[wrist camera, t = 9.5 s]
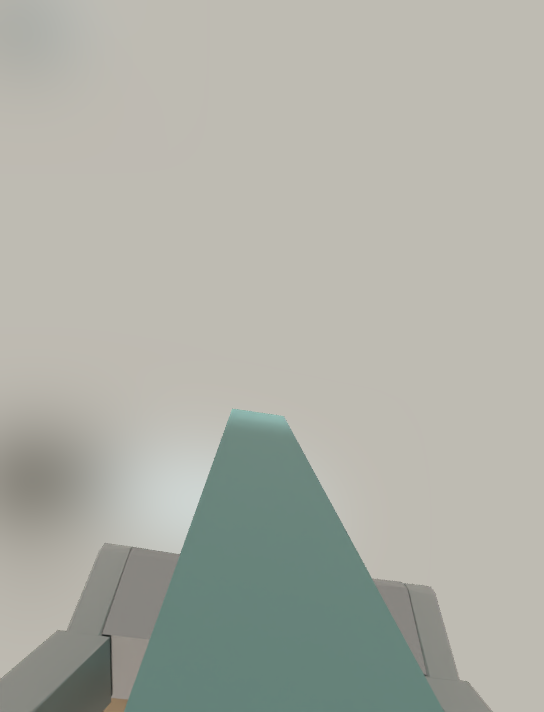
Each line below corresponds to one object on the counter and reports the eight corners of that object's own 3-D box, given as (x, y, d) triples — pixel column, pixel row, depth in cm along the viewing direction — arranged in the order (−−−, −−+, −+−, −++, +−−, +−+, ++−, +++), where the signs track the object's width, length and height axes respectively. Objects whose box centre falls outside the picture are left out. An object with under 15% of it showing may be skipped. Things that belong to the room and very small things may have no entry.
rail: (525, 1581, 3) (608, 1013, 3) (-56, 1552, 2) (36, 953, 2) (275, 467, 29) (283, 416, 29) (224, 460, 28) (232, 408, 28)
